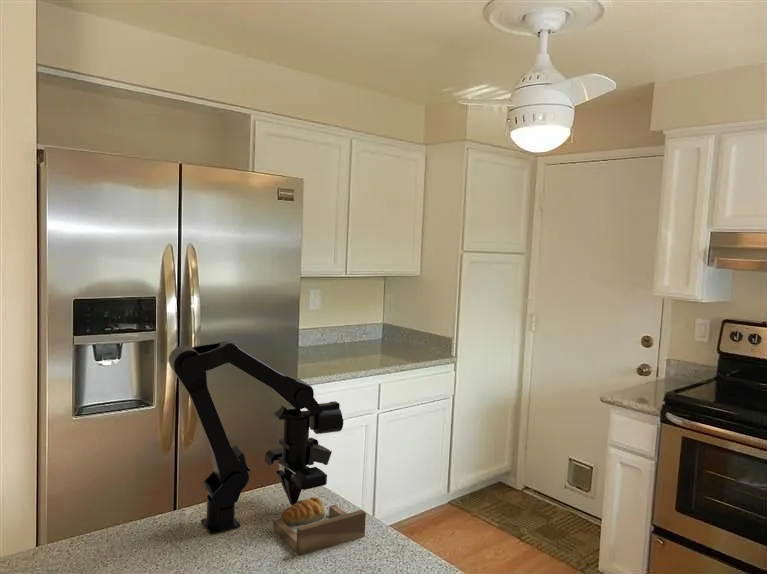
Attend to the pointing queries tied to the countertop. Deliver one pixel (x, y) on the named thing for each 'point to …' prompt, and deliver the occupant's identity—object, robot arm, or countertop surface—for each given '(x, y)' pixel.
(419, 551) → the countertop surface
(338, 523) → the frame
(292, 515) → the pastry
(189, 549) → the countertop surface
